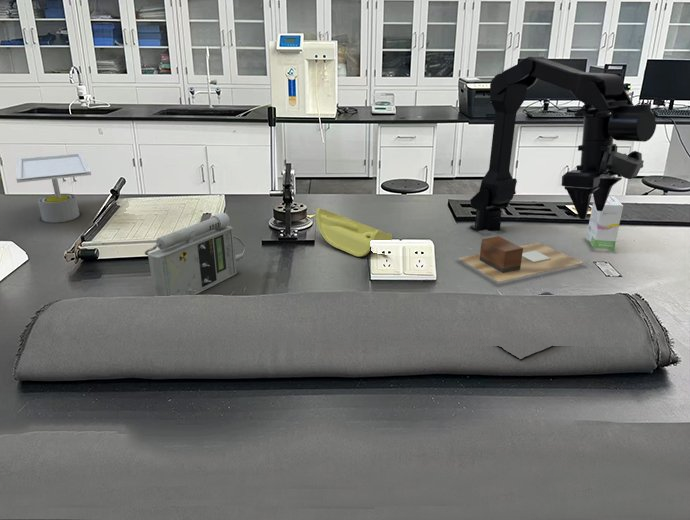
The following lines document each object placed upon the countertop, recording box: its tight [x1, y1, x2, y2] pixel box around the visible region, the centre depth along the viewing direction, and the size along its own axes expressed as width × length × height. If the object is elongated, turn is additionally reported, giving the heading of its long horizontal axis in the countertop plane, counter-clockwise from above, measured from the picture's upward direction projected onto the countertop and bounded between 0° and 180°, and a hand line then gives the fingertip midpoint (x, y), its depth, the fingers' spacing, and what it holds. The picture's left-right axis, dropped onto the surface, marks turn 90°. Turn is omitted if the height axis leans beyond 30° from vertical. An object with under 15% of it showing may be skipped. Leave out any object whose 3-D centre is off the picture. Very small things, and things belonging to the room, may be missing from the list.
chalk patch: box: [522, 251, 551, 263], centre depth 122 cm, size 5×5×1 cm
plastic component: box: [315, 207, 394, 258], centre depth 132 cm, size 20×7×10 cm
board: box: [458, 242, 584, 283], centre depth 120 cm, size 14×24×1 cm, turn 114°
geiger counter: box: [144, 212, 247, 297], centre depth 108 cm, size 14×6×25 cm
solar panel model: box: [15, 152, 92, 224], centre depth 150 cm, size 28×17×15 cm, turn 29°
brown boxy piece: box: [479, 235, 523, 273], centre depth 117 cm, size 8×5×5 cm, turn 25°
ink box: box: [585, 195, 624, 252], centre depth 128 cm, size 9×5×15 cm, turn 168°
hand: (591, 214), depth 113 cm, fingers open, 9 cm apart
